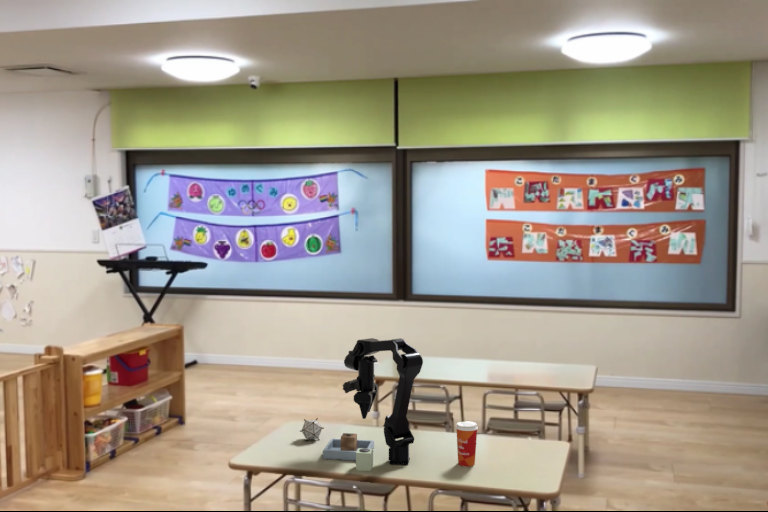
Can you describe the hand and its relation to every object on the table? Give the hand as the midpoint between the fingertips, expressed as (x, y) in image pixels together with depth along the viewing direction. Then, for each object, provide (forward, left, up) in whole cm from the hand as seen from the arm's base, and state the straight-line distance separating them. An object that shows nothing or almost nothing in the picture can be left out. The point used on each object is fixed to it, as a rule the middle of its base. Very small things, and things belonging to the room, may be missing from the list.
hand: (366, 415), depth 278 cm
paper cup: (-37, +13, -12) cm, 41 cm away
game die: (+22, -6, -12) cm, 26 cm away
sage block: (-3, +22, -12) cm, 25 cm away
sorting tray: (+5, +8, -12) cm, 15 cm away
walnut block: (+5, +8, -11) cm, 15 cm away
